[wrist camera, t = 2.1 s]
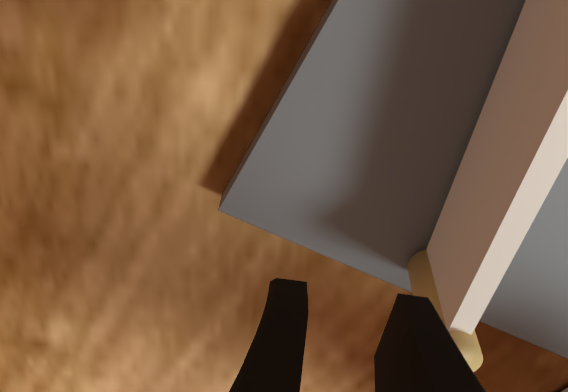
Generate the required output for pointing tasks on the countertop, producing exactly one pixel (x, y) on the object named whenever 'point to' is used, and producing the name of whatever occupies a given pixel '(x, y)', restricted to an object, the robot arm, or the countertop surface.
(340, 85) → the gate board
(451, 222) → the gate
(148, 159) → the countertop surface
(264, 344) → the robot arm
